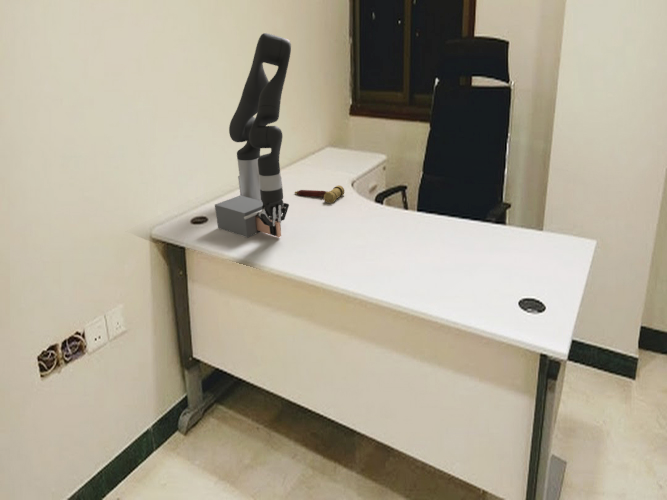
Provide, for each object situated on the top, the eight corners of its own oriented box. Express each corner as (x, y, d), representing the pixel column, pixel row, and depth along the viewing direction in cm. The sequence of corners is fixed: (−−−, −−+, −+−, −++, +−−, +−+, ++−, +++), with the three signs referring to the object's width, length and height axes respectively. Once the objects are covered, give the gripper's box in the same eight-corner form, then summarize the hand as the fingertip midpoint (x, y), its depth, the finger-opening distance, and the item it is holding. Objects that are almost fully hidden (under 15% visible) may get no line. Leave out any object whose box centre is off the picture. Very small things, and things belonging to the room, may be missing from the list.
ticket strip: (234, 223, 207) (233, 210, 205) (237, 222, 208) (235, 209, 206) (278, 237, 193) (277, 223, 191) (281, 236, 194) (279, 222, 192)
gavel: (287, 191, 231) (299, 183, 239) (289, 201, 233) (301, 194, 241) (333, 192, 222) (344, 185, 230) (334, 204, 223) (345, 196, 232)
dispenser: (217, 228, 205) (213, 205, 201) (244, 217, 214) (241, 194, 210) (248, 238, 195) (245, 214, 191) (275, 226, 203) (273, 203, 200)
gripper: (277, 179, 194) (282, 225, 201) (248, 189, 185) (253, 238, 192) (293, 182, 189) (297, 230, 197) (263, 193, 180) (269, 243, 187)
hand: (275, 234), depth 194 cm, fingers closed
